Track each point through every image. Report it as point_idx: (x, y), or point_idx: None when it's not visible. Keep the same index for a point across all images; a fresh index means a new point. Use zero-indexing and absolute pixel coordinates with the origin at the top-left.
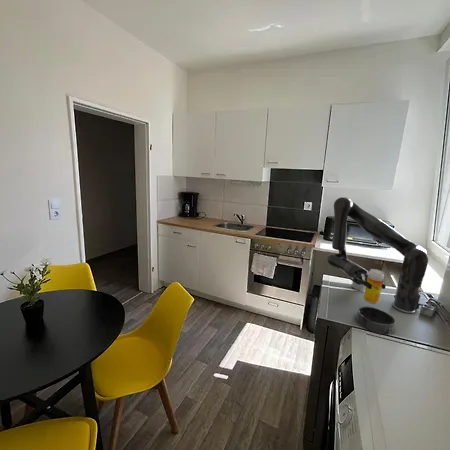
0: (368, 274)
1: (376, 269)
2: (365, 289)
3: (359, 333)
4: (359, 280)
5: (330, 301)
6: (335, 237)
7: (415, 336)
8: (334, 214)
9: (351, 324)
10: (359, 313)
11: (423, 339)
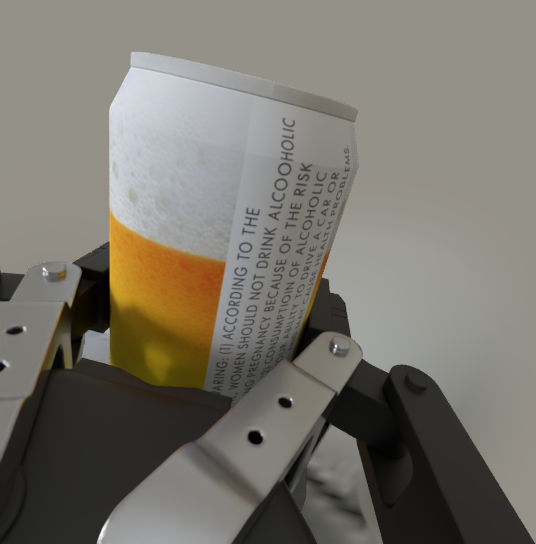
0: (336, 212)
1: (150, 54)
2: None
3: (341, 447)
4: (421, 381)
5: None
6: None
7: (91, 354)
8: None
9: (342, 529)
10: (299, 501)
11: (85, 336)
